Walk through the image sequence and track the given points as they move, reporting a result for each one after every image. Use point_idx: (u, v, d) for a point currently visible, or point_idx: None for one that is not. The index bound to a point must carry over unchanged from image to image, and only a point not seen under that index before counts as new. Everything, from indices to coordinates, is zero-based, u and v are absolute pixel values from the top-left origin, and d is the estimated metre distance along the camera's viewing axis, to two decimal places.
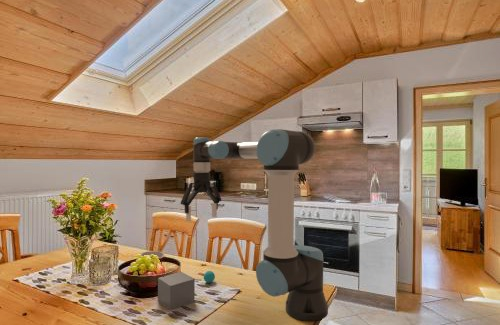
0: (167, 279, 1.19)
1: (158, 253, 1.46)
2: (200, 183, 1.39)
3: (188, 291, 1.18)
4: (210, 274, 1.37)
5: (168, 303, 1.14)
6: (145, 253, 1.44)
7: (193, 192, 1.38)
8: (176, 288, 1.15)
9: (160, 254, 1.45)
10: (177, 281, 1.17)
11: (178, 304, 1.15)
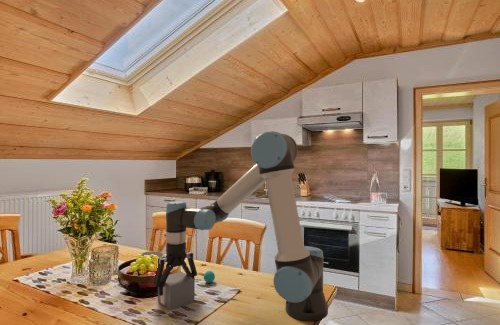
0: (167, 279, 1.19)
1: (158, 253, 1.46)
2: (173, 255, 1.18)
3: (189, 291, 1.18)
4: (210, 274, 1.37)
5: (168, 303, 1.14)
6: (145, 253, 1.44)
7: (166, 268, 1.18)
8: (176, 288, 1.15)
9: (160, 254, 1.45)
10: (177, 281, 1.17)
11: (178, 304, 1.15)
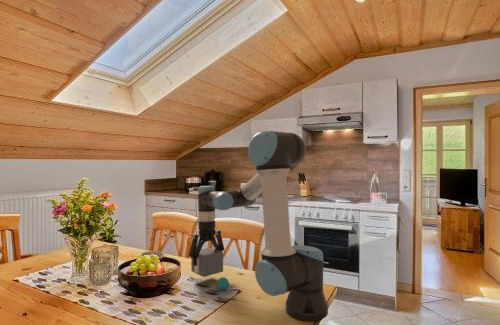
0: None
1: (158, 253, 1.46)
2: (205, 231, 1.38)
3: (218, 262, 1.38)
4: None
5: (202, 271, 1.34)
6: (145, 253, 1.44)
7: (199, 242, 1.38)
8: (208, 258, 1.35)
9: (160, 254, 1.45)
10: (208, 253, 1.37)
11: (210, 272, 1.35)
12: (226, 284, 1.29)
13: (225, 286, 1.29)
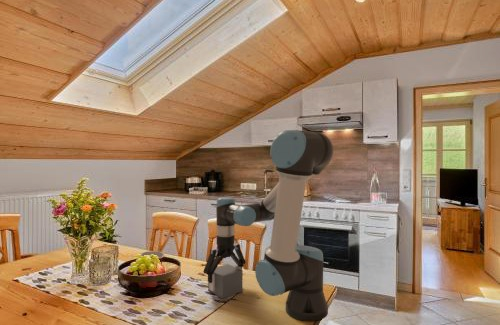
0: (217, 270, 1.29)
1: (158, 253, 1.46)
2: (224, 248, 1.28)
3: (237, 282, 1.28)
4: None
5: (220, 292, 1.24)
6: (145, 253, 1.44)
7: (216, 258, 1.27)
8: (227, 278, 1.24)
9: (160, 254, 1.45)
10: (227, 272, 1.27)
11: (229, 293, 1.25)
12: None
13: None
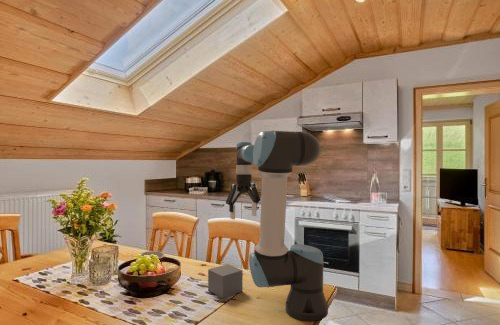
0: (217, 270, 1.29)
1: (158, 253, 1.46)
2: (243, 184, 1.50)
3: (237, 282, 1.28)
4: None
5: (220, 292, 1.24)
6: (145, 253, 1.44)
7: (236, 192, 1.49)
8: (227, 278, 1.24)
9: (160, 254, 1.45)
10: (227, 272, 1.27)
11: (229, 293, 1.25)
12: None
13: None
